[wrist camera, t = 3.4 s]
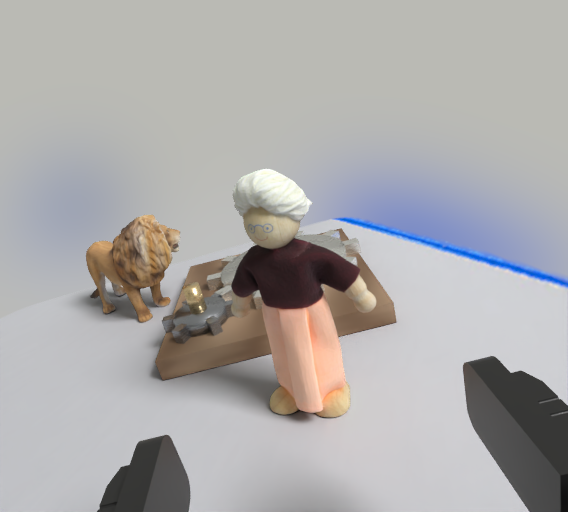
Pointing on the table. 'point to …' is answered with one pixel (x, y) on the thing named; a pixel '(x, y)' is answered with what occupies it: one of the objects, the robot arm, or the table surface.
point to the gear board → (261, 325)
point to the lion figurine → (133, 263)
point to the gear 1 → (198, 315)
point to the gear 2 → (325, 240)
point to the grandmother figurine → (294, 295)
